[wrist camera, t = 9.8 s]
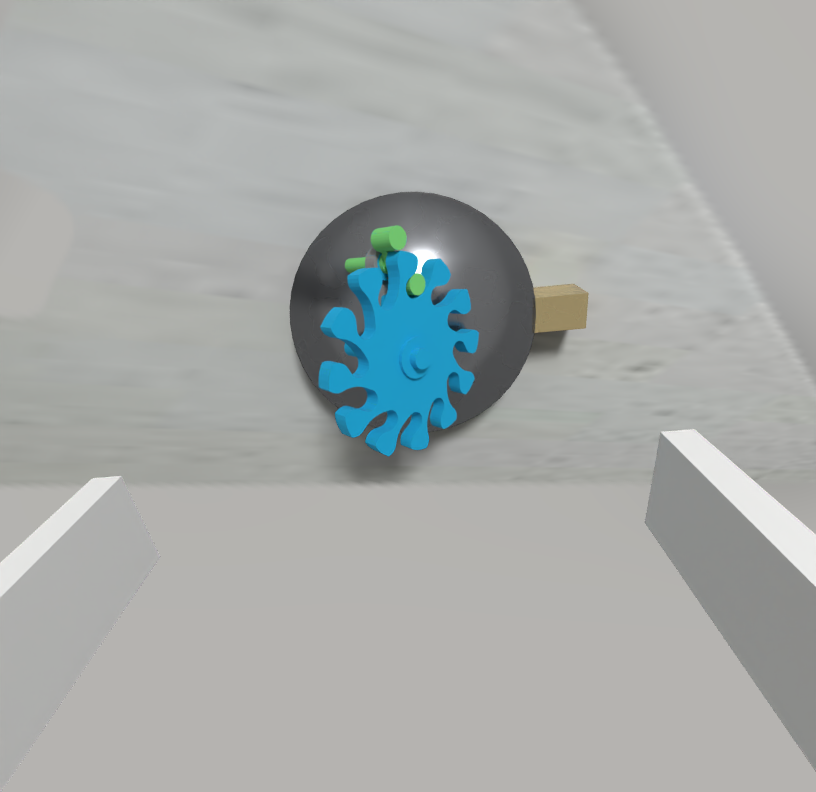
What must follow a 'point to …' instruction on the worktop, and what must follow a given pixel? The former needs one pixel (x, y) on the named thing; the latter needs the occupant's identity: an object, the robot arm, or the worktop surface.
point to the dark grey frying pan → (433, 294)
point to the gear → (398, 345)
